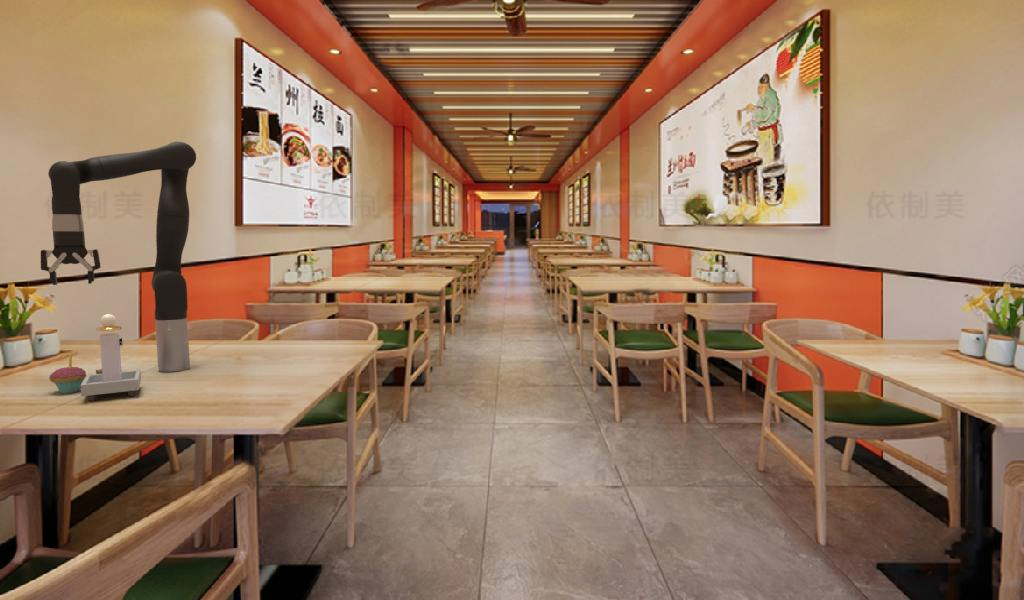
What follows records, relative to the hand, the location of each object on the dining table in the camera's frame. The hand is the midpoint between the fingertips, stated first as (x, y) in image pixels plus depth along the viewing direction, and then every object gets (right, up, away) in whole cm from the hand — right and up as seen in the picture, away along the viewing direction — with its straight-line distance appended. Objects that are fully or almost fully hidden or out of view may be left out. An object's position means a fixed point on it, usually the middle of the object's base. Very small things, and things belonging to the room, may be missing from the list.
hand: (72, 284), depth 177 cm
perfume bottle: (+20, -29, -11) cm, 37 cm away
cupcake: (+5, -31, -8) cm, 33 cm away
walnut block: (+9, -30, +2) cm, 31 cm away
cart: (+20, -32, -11) cm, 39 cm away
